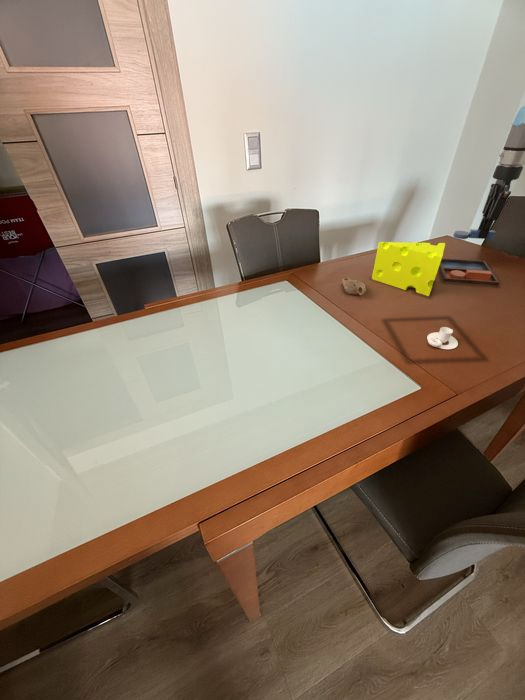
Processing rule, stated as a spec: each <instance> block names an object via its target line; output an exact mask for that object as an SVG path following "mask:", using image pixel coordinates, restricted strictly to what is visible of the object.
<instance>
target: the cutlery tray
mask: <svg viewBox="0 0 525 700" xmlns="http://www.w3.org/2000/svg"><path fill="white" fill-rule="evenodd" d="M438 270H439V272H440V274H441V277H442V280H443V282H445V283H457V284H468V285H469V284H471V285H485V286H496V287H497V286H499V285H500V281H499V280H498V278H497V276H496V275H495V274H494V272H493V270H492V269H491V267H490V265H488V263H487V261H485V260H478V259H463V258H461V259H459V258H443V257H442V260H441V262H440V265H439V268H438ZM454 270H458V271H462V272H464V273H466V270H479V271H491V273H492V276H491V278H490V280H480V279H467V278H464V279H457V278H451V277H450V276H449V275H450V272H451V271H454Z"/></svg>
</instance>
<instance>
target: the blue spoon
mask: <svg viewBox="0 0 525 700" xmlns="http://www.w3.org/2000/svg"><path fill="white" fill-rule="evenodd" d="M479 233H480V230H478V229H474V228H473V229H472V228H471V229H470V230H469V231H465V230H455V231H454V232H453V237H454V238H455V239H458V240H459V239H460V240H467V239H482V240H484V239H483V238H478V235H479ZM496 233H497V232H496V231H495V230H494V229H493V230H492V229H490V231H489V233H488V235H487V238H486V239H485V240H494V238H495V236H496Z"/></svg>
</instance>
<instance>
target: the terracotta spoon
mask: <svg viewBox="0 0 525 700" xmlns="http://www.w3.org/2000/svg"><path fill="white" fill-rule="evenodd" d="M491 271H492V270H491ZM491 271H479V270H466V273H464V272H462V271H458V270H454V271H451V272H450V275H449V276H450V277H451V278H457V279H464V278H467V279H480V280H490V278H491V276H492V273H491Z"/></svg>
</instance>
